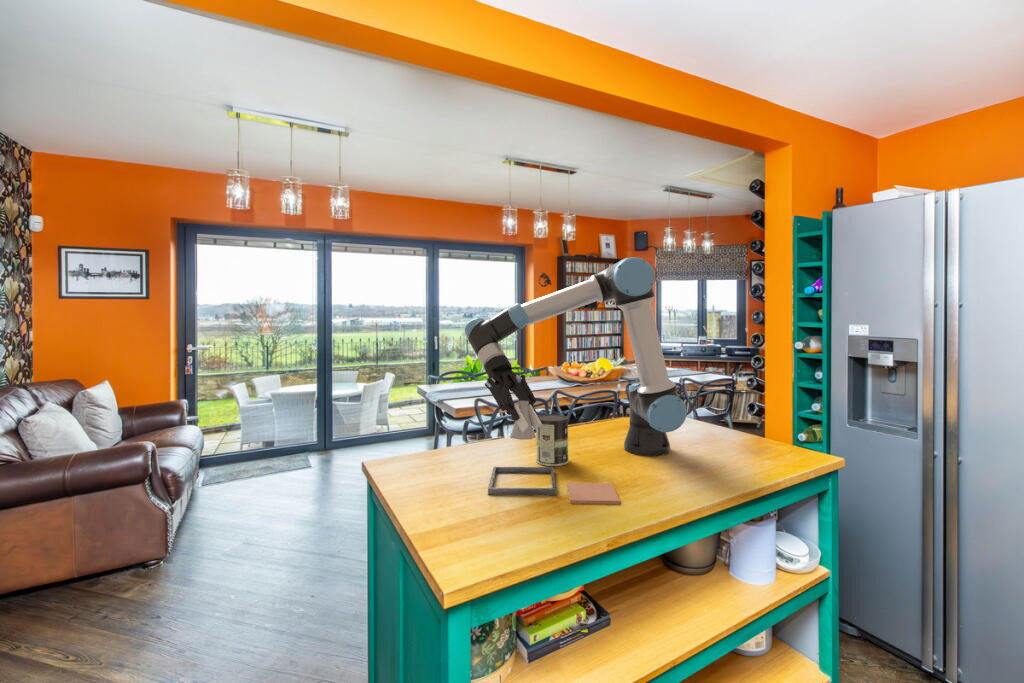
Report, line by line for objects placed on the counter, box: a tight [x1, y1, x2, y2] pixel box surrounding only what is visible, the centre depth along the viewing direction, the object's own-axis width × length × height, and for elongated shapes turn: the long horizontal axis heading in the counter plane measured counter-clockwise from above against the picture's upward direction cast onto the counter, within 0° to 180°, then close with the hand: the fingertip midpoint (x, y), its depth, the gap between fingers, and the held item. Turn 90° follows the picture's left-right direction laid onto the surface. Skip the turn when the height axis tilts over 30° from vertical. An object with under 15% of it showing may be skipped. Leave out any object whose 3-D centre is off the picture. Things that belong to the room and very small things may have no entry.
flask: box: [509, 400, 536, 440], centre depth 125 cm, size 7×7×10 cm
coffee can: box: [535, 413, 569, 467], centre depth 144 cm, size 10×10×14 cm
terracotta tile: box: [566, 482, 621, 505], centre depth 117 cm, size 12×12×1 cm
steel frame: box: [487, 466, 557, 496], centre depth 126 cm, size 18×18×2 cm
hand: (532, 427), depth 122 cm, fingers closed on flask, 4 cm apart
